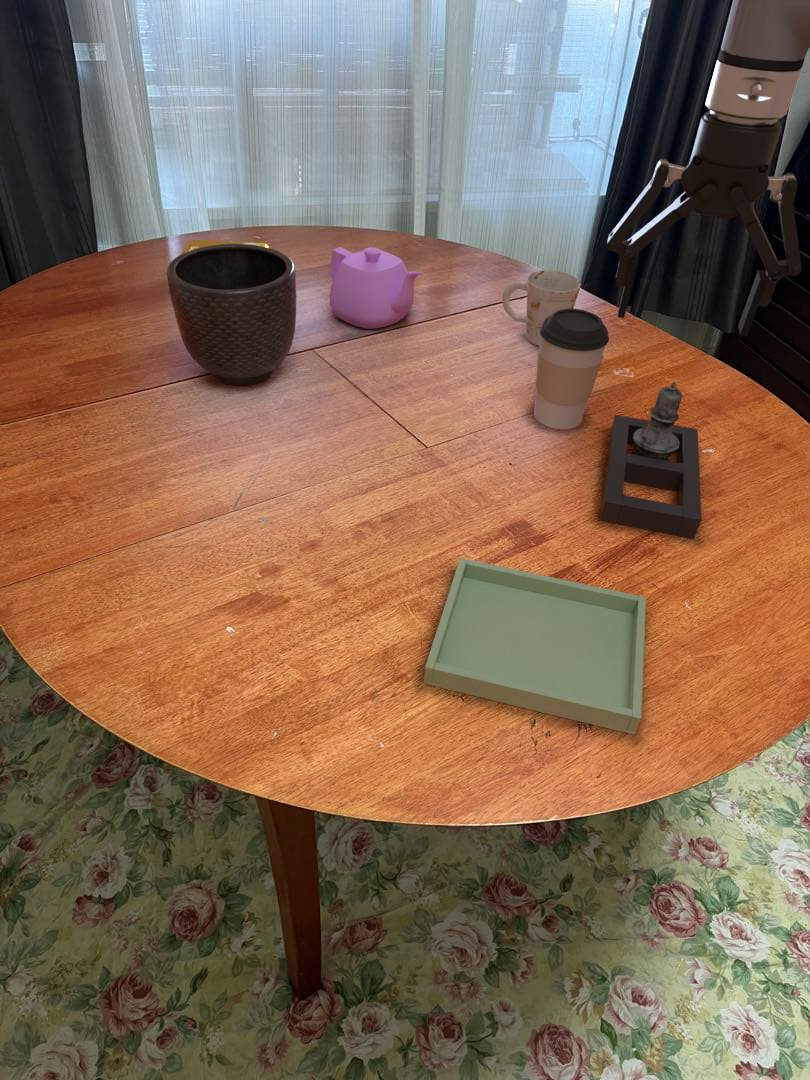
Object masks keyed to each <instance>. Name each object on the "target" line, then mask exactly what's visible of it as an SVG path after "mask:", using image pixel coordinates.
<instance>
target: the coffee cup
mask: <svg viewBox="0 0 810 1080" xmlns="http://www.w3.org/2000/svg"><path fill="white" fill-rule="evenodd" d="M540 334H541V341H540V346H538V351H537V362H536V363H537V364H536V377H535V379H536V380H535V398H534V407H533V408H534V409H533V415H534V418H535V419H536V421H537V422H539V423H540V424H541V425H543V426H545V427H548V428H551V429H555V430H571V429H574V428H576V427H578V426H579V425H581V423H582V420H583V418H584V414H585V411H586V408H587V404H588V402H589V399H590V398H591V396H592V392H593V390H594V386H595V383H596V380H597V377H598V374H599V371H600V369H601V366H602V362H603V359H604V353H605V348H606V346H607V345H608V344H609V342H610V337H609V330H608V328H607V327H606V325H605V324H604V323H603V320H602V319H601V317H600V316H599V315H596V314H595V313H593V312H591V311H587V310H585V309H579V308H573V309H562V310H558V311H556V312H555V313H554V314H553V315H551V316H549V317H547V318H546V319H545V320H544V322H543V325H542V327H541V328H540Z"/></svg>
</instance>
